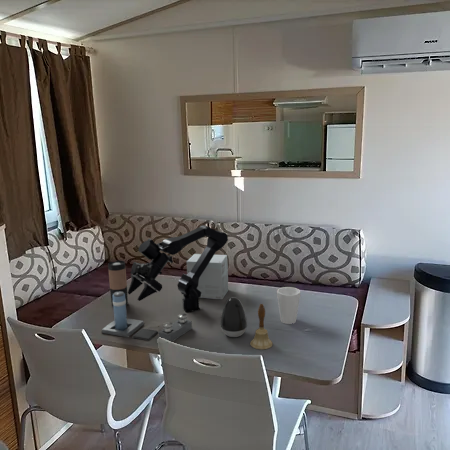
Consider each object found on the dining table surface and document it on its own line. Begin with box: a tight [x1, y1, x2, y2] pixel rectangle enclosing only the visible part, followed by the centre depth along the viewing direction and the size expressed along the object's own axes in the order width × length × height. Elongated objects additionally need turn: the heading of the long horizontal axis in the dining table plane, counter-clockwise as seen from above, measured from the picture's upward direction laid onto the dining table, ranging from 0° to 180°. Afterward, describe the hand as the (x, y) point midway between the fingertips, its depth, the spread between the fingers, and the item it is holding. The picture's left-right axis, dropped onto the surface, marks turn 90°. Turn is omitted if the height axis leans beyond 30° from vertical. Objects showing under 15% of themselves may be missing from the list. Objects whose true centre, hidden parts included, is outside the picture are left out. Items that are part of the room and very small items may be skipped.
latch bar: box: [157, 319, 193, 342], centre depth 177 cm, size 14×5×3 cm, turn 148°
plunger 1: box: [162, 321, 173, 334], centre depth 173 cm, size 4×4×4 cm
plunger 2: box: [177, 313, 188, 324], centre depth 181 cm, size 4×4×4 cm
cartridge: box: [112, 292, 128, 331], centre depth 180 cm, size 5×5×16 cm
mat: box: [132, 327, 159, 341], centre depth 177 cm, size 7×7×1 cm
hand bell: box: [249, 303, 273, 351], centre depth 166 cm, size 8×8×16 cm
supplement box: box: [186, 253, 229, 300], centre depth 217 cm, size 17×13×18 cm
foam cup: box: [276, 286, 301, 325], centre depth 186 cm, size 10×9×13 cm
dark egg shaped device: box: [220, 296, 248, 338], centre depth 175 cm, size 10×10×15 cm
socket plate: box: [101, 318, 145, 338], centre depth 183 cm, size 12×12×2 cm
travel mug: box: [107, 260, 129, 307], centre depth 205 cm, size 8×8×20 cm
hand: (133, 296), depth 183 cm, fingers open, 9 cm apart
